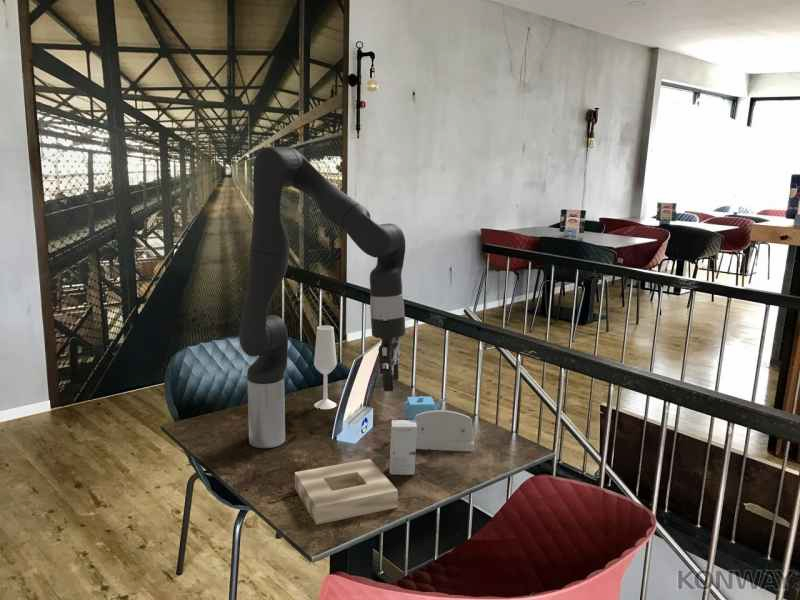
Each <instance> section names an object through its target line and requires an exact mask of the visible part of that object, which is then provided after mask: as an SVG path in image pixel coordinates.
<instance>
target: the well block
mask: <svg viewBox="0 0 800 600" xmlns="http://www.w3.org/2000/svg"><path fill="white" fill-rule="evenodd" d="M294 489H295V491H296V493H297V494H298V496H299V498H300V500H301V501H302V503H303V505H304V506H305V508H306V510H307V512H308V513H309V515H310V517H311V519H312V520H313V522H314V524H315V525H317V526H318V525H323V524H327V523H332V522H335V521H336V522H337V521H340V520H346V519H350V518H351V519H352V518H354V517H360V516H364V515H369V514H374V513H378V512H384V511H387V510H391V509H392V510H393V509H397V508H398V506H399V505H398V501H399V499H398V497H399V491H398V489H397V488H396V487H395V486H394V484H393V483H392V482H391V481H390V479H388V478H387V476H386V475H385V474H384V473H383V472H382V471H381V470H380V468H378V466H377V465H376V464H375V462H373V460H372V459H371V458H367V459H362V460H357V461H351V462H345V463H339V464H334V465H328V466H322V467H317V468H312V469H305V470H300V471H295V472H294Z"/></svg>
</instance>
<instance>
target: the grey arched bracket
mask: <svg viewBox="0 0 800 600" xmlns="http://www.w3.org/2000/svg"><path fill="white" fill-rule="evenodd" d="M414 421H416V425H417V437H416V450H429V449H430V450H431V451H432V450H433V451H435V450H436V451H451V452H452V451H453V452H474V446H475V437H474V427H473V420H472V418H471V417H470V416H468V415H466V414H463V413H462V412H461V413H460V412H457V411H454V410H453V411H452V410H443V409H438V410H434V411H427V412H423V413H420V414H417V415H416V416H415V417H414Z"/></svg>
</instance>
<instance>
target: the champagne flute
mask: <svg viewBox="0 0 800 600" xmlns="http://www.w3.org/2000/svg"><path fill="white" fill-rule="evenodd" d="M315 337H316V338H315V347H314V348H315V349H314V350H315V351H314V357H313V358H314V359H313V365H314V367H315V369H316V370H317V371H318V372H319V373H320V374H322V375H323V380H322V381H323V389H322V390H323V391H322V392H323V394H322V395H323V396H322V397H323V398H322V399H321V400H318V401H317V402H316V403H314V404H313V406H314V407H315V408H316V409H319V408H320V410H332V409H334V408H335V407H337V406H338V405H337V403H336V402H334V401H332V400H330V399H329V398H328V375H329V374H331V372H333V370H335V368H336V367H337V364H338V362H337V350H336V343H335V342H336V341H335V340H336V338H335V330H334V326H332V325H319V326H317V328H316V336H315Z"/></svg>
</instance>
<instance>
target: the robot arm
mask: <svg viewBox="0 0 800 600" xmlns="http://www.w3.org/2000/svg"><path fill="white" fill-rule="evenodd" d="M252 173H253V174H252V175H253V176H252V177H253V213H252V228H251V229H252V230H251V240H250V247H249V257H248V275H247V284H246V294H245V299H244V300H245V301H244V304H243V309H242V316H241V319H240V325H239V332H238V333H239V335H238V337H239V345H240V347H241V349H242V351H243V352H244V354H245V355H246V356H249V357H257V358H256V360H254V362H253V363H252V364H251V365H249V366H248V367H247V368H248V369H247V372H246V375H247V380H246V381H247V408H248V410H247V411H248V412H247V413H248V415H247V416H248V442H249V445H251V446H252V447H254V448H259V449H270V448H271V449H272V448H275V447H278V446H281V445H282V444H284V443H285V441H286V413H285V412H286V409H285V408H286V407H285V403H286V402H285V399H286V397H285V371H286V368H287V366H288V347H289V345H288V344H289V335H288V329H287V325H286V324H285V321H284V319H282V317H280V316H279V315H276V314H269V315H268V313H269V307H270V304H271V301H272V299H273V297H274V295H275V294H276V292H277V290H278V289H279V287H280V286H281V284H282V282H283V280H284V278H285V276H286V274H287V270H288V265H289V258H290V244H291V243H290V238H289V235H288V233H287V229H286V226H285V223H284V222H283V218H282V213H281V200H282V191H283V188H288V187H289V188H290V187H291V188H294V189H296V190H298V191H299V192H301V193H304V194H305V195H307V196H308V198H309V197H310V199H311V200H312V201H313V202H314V203H315V205H316V206H317V208H318V211H319V212H320V213H321V214H322V216H324V218H326V219H327V220H328V221H329V222H330V223H332V224H333V225H334V226H336V227H337V228H339V229H340V230H341V231H343V232H344V233H346V234H347V235H348V236H349V238H350V239H351V241H352V242H354V244H356V246H357V247H358V248H359V249H360V250H361V251H362V252H363V253H364V254H366V255H368V256H370V257H372V258H376V259H377V260H376V266H375V268H373V269H372V270H371V271H370V274H369V285H370V286H369V289H370V301H369V302H370V304H369V305H370V306H369V309H370V311H369V312H370V327H371V328H370V329H371V336H372V337H373V338H376V339H380V340H381V344H380V345H379V347H378V352H379V353H378V357H379V358H378V359H379V374H380V375H382V387H383V388H382V389H383V391H384V392H393V391H394V388H395V387H394V381H398V380H399V377H400V373H399V372H400V371H399V363H400V359H401V354H400V340H399V338H401V337H403V336H404V335H405V334H406V320H405V319H406V318H405V317H406V316H405V302H404V297H403V282H402V279H403V278H402V272H403V266H404V260H405V255H406V254H405V253H406V237H405V234H404V232H403V230H402V228H400V227H399V226H398V225H397V224H395V223H383V224H378V223H377V222H375V221H374V220H372V219H371V214H370V212H369V210H368V209H367V208H366V207H364V205H362V204H360V203H359V202H358V201H356V199H354V198H352V197H351V196H350V195H348V194H346V193H345V192H344V191H342V190H341V189H339V188H338V187H337V186H336V185H334V184H333V183H332V182H330V180H328V178H326V176H324V175H323V174H322V173H321V172H320V171H319V170H318V169H316V168H315V166H314V165H313V164H312V163H311V162H310V161H309V160H308V159H307V158H306V157H305V156H304V155H303V154H302V153H301V152H299V151H298V150H297V149H295V148H292V147H289V146H267V147H266V146H265V147H263V148H262V149H260V150H259V151H258V152H257V154H256V156H255V158H254V161H253V172H252ZM387 366H388V368H385V367H387Z"/></svg>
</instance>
